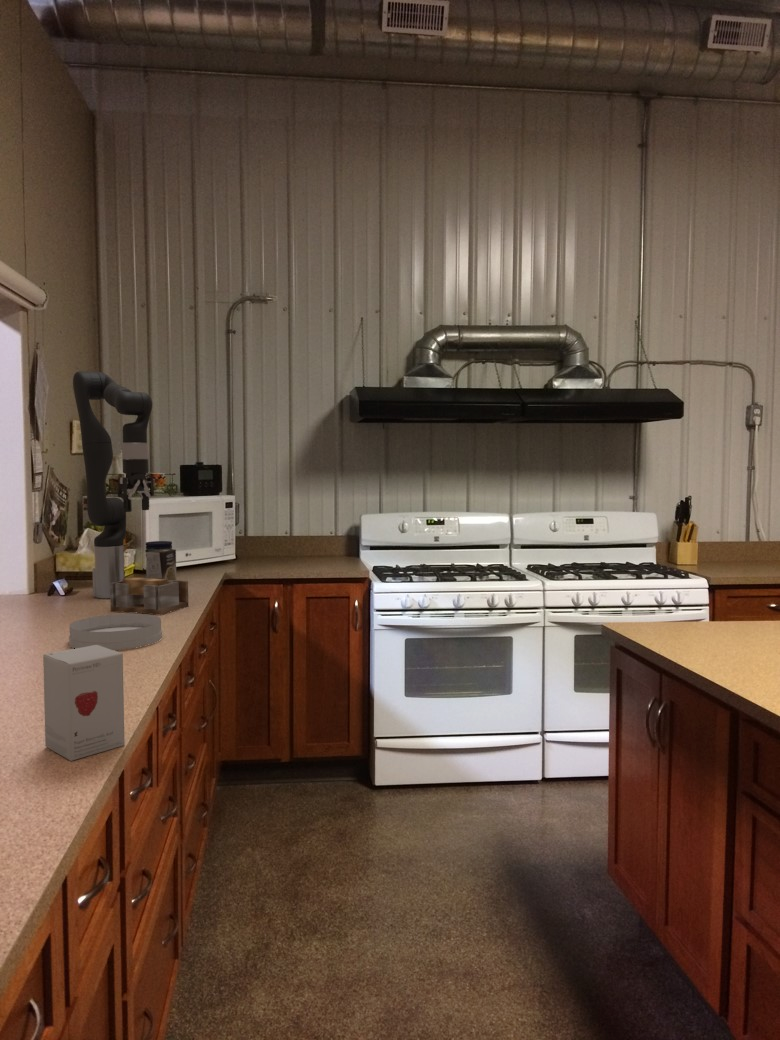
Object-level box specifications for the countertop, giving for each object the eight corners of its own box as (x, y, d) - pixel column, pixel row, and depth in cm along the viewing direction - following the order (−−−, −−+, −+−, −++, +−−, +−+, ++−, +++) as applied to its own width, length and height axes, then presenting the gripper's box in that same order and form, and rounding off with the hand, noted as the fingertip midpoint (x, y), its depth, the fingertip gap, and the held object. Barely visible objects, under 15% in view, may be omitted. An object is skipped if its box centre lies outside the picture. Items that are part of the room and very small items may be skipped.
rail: (123, 593, 226) (122, 579, 226) (131, 591, 230) (131, 577, 230) (159, 596, 222) (159, 581, 222) (167, 594, 226) (167, 579, 226)
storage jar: (140, 582, 280) (139, 543, 279) (157, 578, 289) (156, 540, 288) (161, 584, 276) (160, 544, 275) (178, 580, 285) (177, 541, 284)
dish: (92, 631, 199) (91, 613, 198) (174, 632, 198) (173, 613, 198) (52, 652, 177) (51, 631, 176) (144, 653, 176) (143, 632, 176)
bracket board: (110, 611, 225) (109, 583, 224) (139, 603, 238) (139, 576, 238) (161, 614, 219) (160, 586, 219) (188, 606, 233) (187, 579, 232)
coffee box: (164, 601, 241) (163, 552, 240) (146, 600, 242) (144, 551, 241) (177, 596, 250) (176, 549, 249) (160, 596, 251) (159, 548, 250)
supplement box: (70, 762, 110) (66, 663, 109) (44, 747, 116) (40, 653, 115) (127, 745, 117) (124, 652, 116) (99, 732, 123) (96, 643, 122)
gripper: (139, 458, 234) (141, 509, 236) (109, 457, 221) (111, 512, 222) (160, 458, 232) (161, 509, 233) (130, 457, 219) (132, 512, 220)
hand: (136, 511), depth 228 cm, fingers open, 8 cm apart
